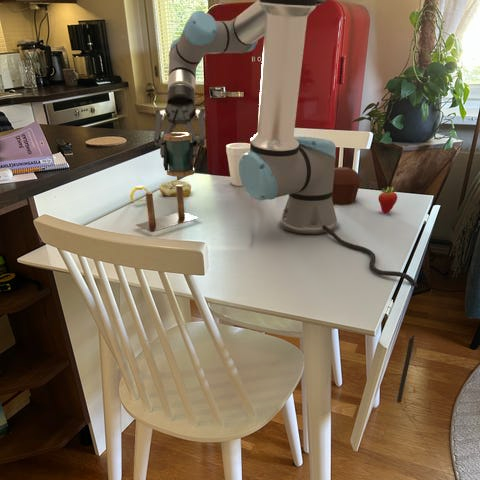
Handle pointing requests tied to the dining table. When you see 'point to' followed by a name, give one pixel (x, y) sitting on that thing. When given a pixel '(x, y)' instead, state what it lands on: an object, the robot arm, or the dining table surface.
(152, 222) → the spool stand
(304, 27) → the robot arm
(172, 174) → the spool
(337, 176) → the muffin
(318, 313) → the dining table surface
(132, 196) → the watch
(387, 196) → the fruit
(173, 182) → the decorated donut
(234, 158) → the foam cup
